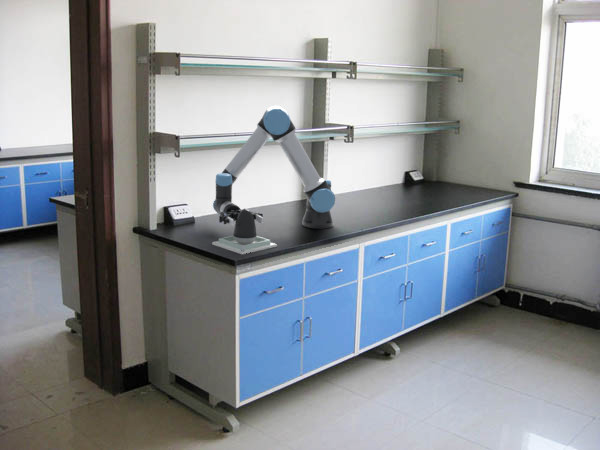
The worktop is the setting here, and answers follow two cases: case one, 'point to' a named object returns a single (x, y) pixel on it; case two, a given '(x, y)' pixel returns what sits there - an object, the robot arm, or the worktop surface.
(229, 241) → the square tray
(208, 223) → the worktop surface
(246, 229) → the dark grey rounded dome
